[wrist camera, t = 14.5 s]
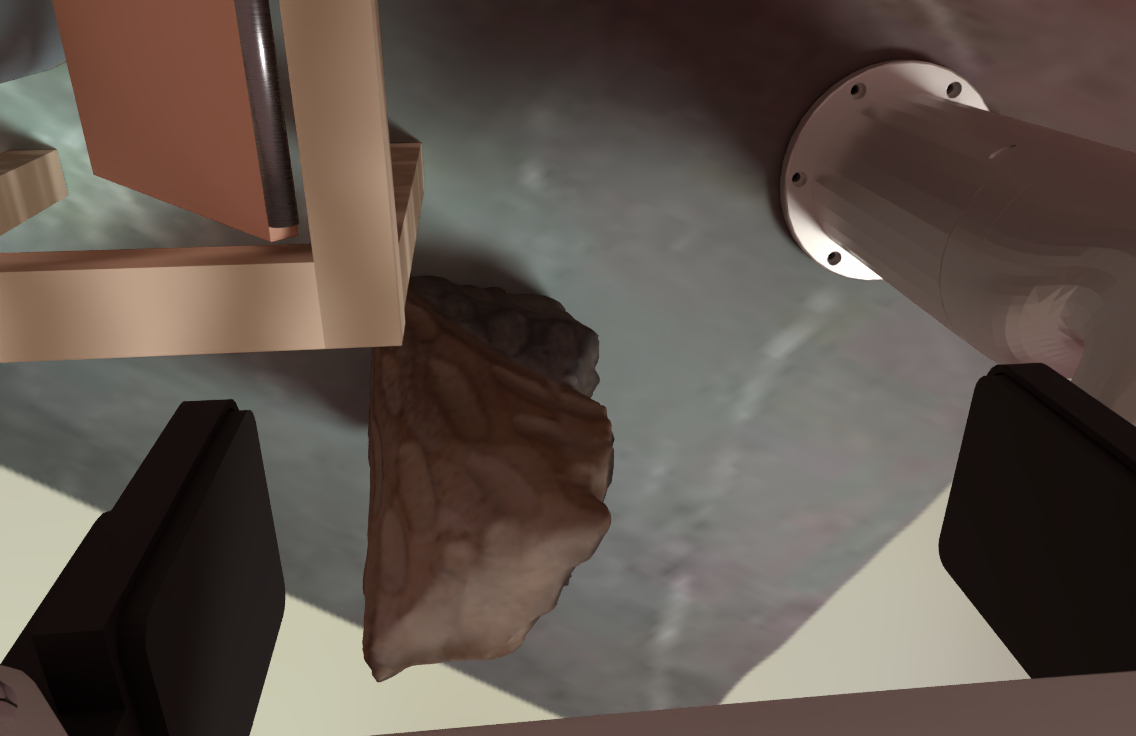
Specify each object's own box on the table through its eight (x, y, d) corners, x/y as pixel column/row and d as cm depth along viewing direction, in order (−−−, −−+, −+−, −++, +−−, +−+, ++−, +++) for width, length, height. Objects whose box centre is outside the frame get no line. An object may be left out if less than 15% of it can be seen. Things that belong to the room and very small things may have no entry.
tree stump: (589, 294, 51) (659, 474, 33) (552, 471, 56) (594, 711, 38) (375, 264, 49) (325, 440, 31) (357, 452, 54) (304, 697, 36)
